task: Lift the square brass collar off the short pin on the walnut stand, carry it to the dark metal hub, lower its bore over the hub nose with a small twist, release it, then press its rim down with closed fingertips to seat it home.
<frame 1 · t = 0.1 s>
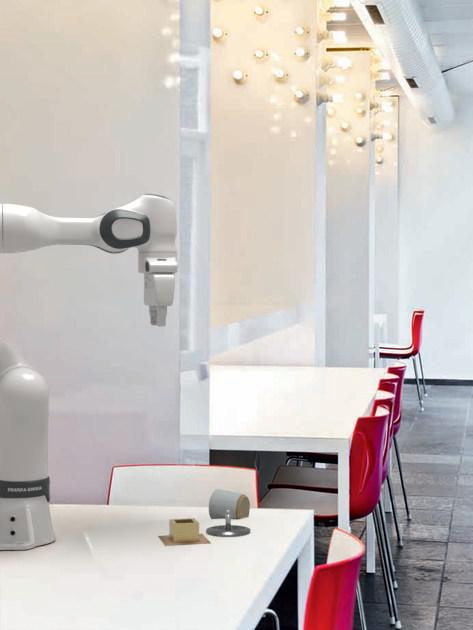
hand: (157, 325, 254), 48 cm above the table, fingers open, 8 cm apart
collar: (184, 539, 242), point 1 cm above the table, touching stand
hub: (228, 538, 250), on the table
stand: (184, 546, 242), on the table
grey cylinder tan end: (231, 521, 269), on the table
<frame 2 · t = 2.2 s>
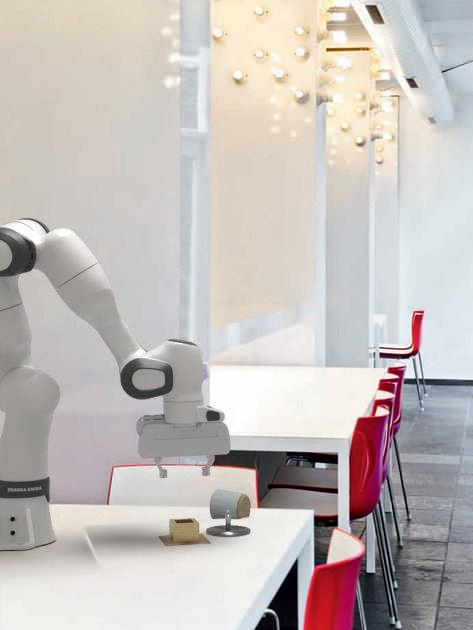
hand: (184, 476, 242), 15 cm above the table, fingers open, 8 cm apart
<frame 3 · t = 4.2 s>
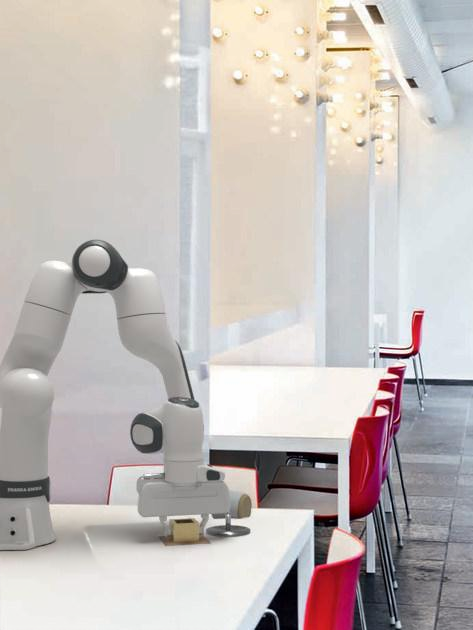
hand: (184, 535, 242), 2 cm above the table, fingers closed on collar, 6 cm apart
collar: (184, 539, 242), point 1 cm above the table, touching gripper, stand
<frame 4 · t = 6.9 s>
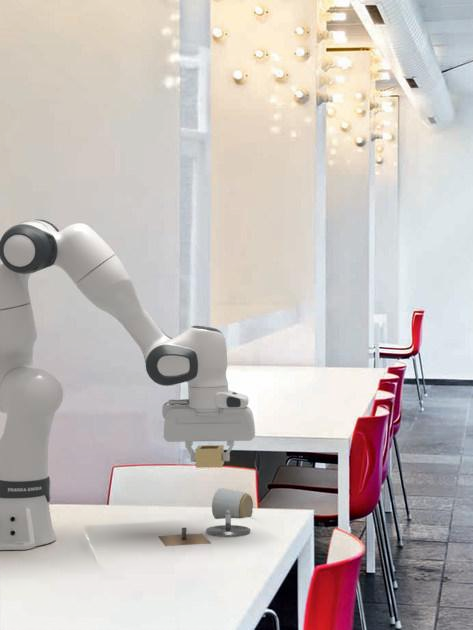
hand: (210, 461, 245), 18 cm above the table, fingers closed on collar, 6 cm apart
collar: (210, 465, 245), point 17 cm above the table, touching gripper
when the fingers open (4 cm above the table, at t = 9.6 s): collar stays where it is, resting on hub.
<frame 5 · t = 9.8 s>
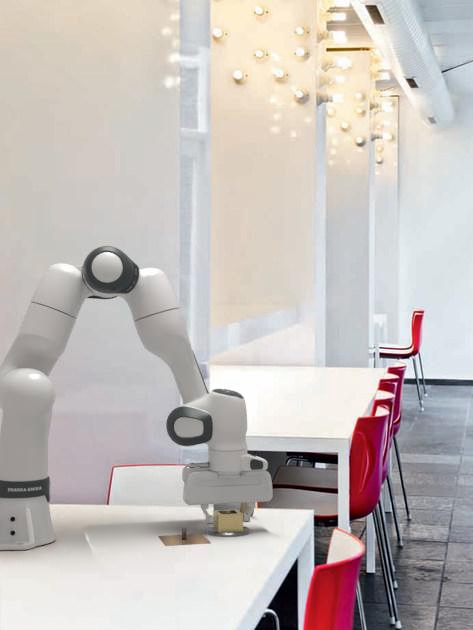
hand: (228, 522, 250), 4 cm above the table, fingers open, 7 cm apart
collar: (227, 529, 250), point 2 cm above the table, touching hub
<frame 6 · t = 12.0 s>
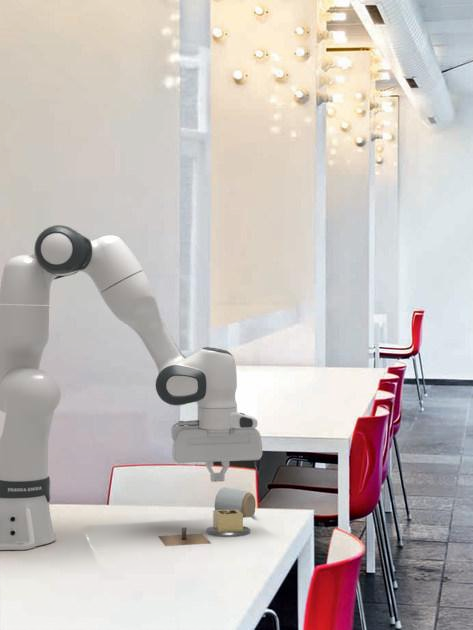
hand: (217, 481, 249), 13 cm above the table, fingers closed
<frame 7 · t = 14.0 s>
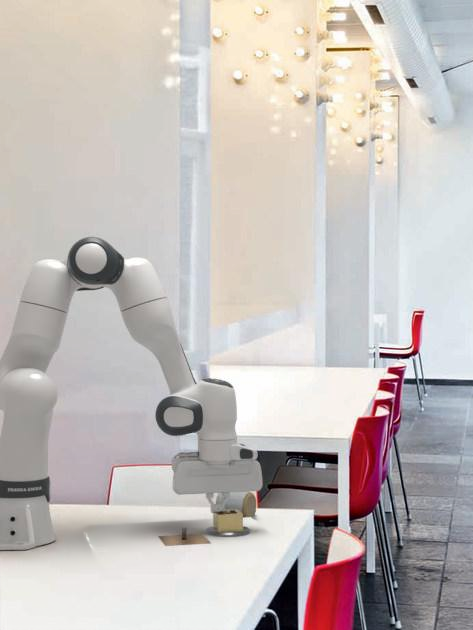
hand: (217, 512, 249), 6 cm above the table, fingers closed, pressing on collar
collar: (227, 529, 250), point 2 cm above the table, touching gripper, hub
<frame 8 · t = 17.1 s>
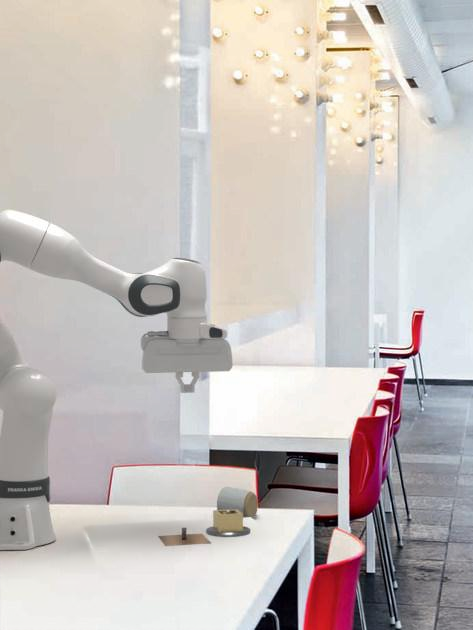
hand: (187, 392, 248), 33 cm above the table, fingers closed
collar: (227, 529, 250), point 2 cm above the table, touching hub
at the end: collar 0.1 cm from the hub (horizontally); collar point 2.0 cm above the table; the gripper is holding nothing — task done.
